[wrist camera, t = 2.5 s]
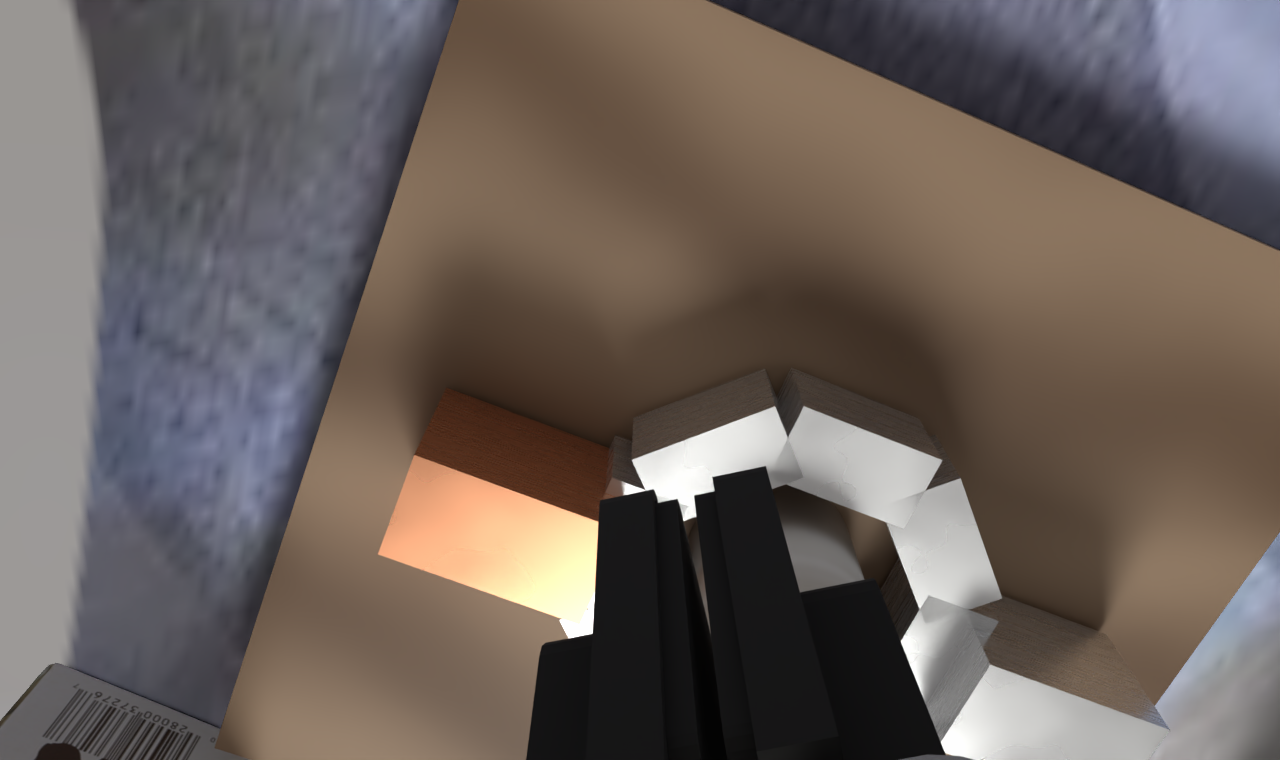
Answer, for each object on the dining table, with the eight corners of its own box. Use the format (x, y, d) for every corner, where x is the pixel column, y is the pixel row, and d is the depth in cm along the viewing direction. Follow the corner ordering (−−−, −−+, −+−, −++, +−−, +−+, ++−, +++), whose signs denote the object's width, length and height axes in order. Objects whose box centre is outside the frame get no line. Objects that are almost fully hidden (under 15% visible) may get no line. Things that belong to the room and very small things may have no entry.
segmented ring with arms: (1182, 521, 23) (1261, 605, 20) (990, 805, 26) (1034, 915, 23) (496, 251, 21) (470, 300, 18) (371, 591, 24) (330, 681, 21)
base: (501, -91, 20) (450, -105, 15) (1385, 295, 23) (1594, 394, 18) (236, 707, 27) (140, 881, 22) (940, 936, 30) (999, 1138, 25)
